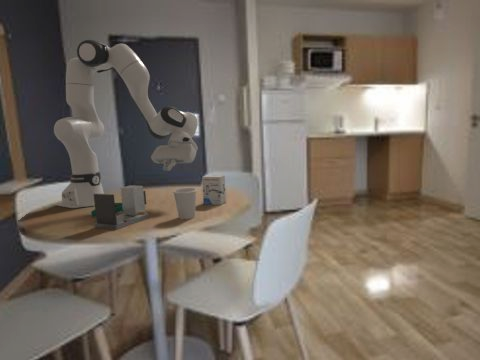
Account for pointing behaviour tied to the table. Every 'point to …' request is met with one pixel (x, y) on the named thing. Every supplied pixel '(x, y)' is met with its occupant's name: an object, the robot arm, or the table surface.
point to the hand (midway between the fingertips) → (166, 169)
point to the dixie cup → (185, 202)
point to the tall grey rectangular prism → (133, 200)
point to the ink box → (214, 189)
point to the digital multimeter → (117, 207)
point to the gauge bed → (112, 213)
